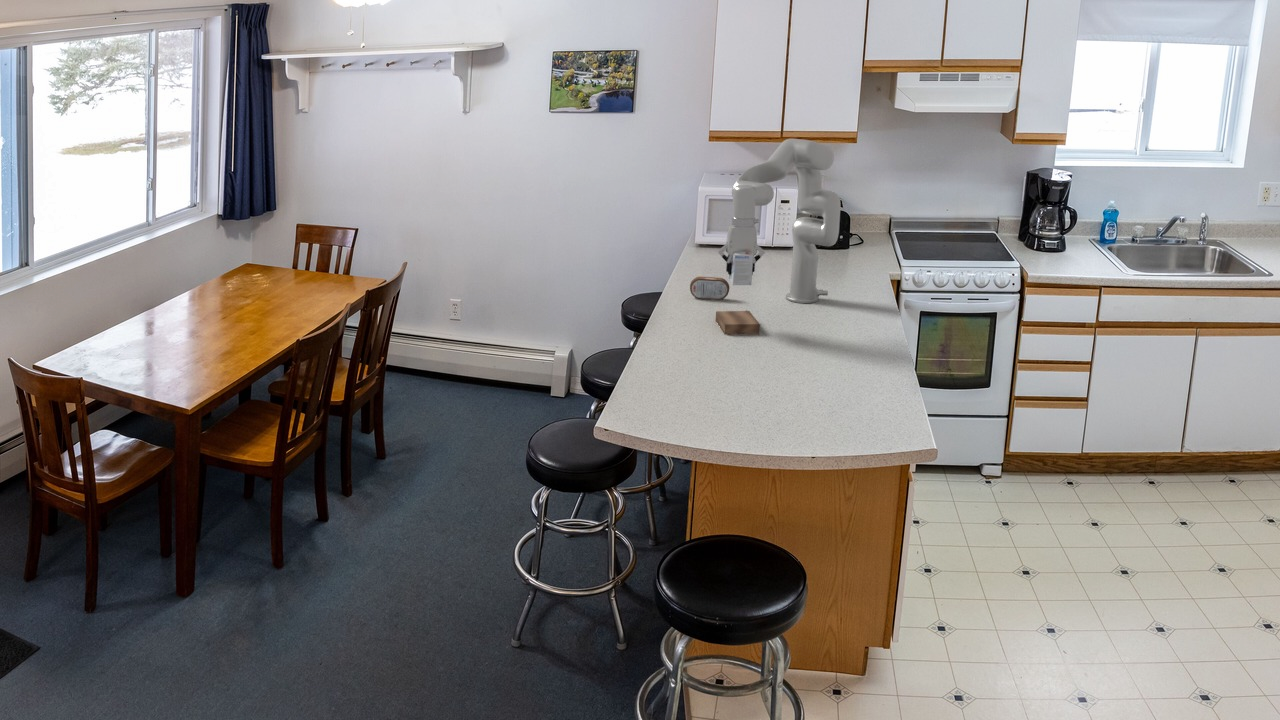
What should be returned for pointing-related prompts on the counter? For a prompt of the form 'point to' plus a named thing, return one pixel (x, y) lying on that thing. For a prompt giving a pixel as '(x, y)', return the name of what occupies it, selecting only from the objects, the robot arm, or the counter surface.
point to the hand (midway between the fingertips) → (740, 273)
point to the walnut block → (737, 322)
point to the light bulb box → (741, 268)
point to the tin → (709, 288)
